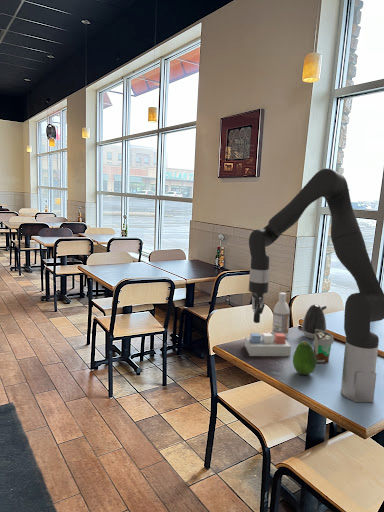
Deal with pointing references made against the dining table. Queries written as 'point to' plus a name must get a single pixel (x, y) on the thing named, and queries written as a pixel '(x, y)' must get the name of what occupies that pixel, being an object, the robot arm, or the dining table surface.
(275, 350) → the button panel
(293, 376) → the dining table surface
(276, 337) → the red key
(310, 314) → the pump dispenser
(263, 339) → the white key
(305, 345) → the avocado
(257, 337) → the blue key
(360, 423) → the dining table surface
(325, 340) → the food container
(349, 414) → the dining table surface
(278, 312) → the bath foam
